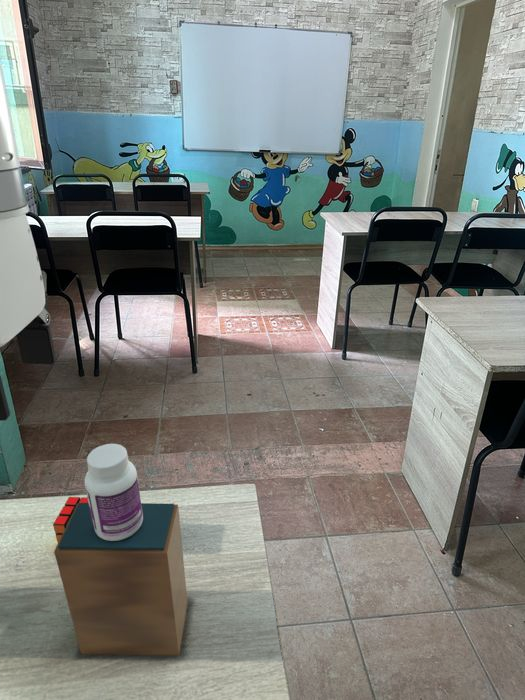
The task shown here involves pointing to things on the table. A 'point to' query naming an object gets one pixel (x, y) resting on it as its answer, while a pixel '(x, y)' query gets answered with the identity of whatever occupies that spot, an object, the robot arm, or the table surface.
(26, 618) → the table surface
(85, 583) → the stand
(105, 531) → the pill bottle
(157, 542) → the cloth
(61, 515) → the puzzle toy
